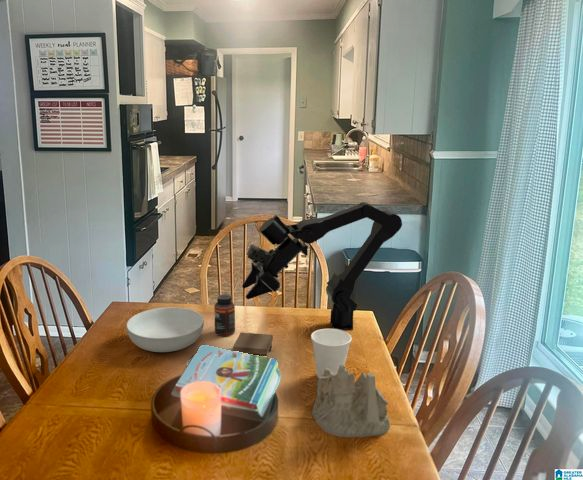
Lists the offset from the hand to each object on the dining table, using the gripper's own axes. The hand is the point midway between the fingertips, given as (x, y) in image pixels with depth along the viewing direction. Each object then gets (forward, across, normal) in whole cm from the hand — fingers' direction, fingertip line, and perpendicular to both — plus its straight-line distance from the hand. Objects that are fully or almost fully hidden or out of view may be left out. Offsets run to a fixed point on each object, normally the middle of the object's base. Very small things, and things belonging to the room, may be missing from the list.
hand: (244, 292), depth 151 cm
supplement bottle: (+13, 0, +5) cm, 14 cm away
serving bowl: (+25, +5, -7) cm, 26 cm away
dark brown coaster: (+8, +15, +9) cm, 19 cm away
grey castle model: (-4, +47, +21) cm, 52 cm away
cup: (-4, +30, +21) cm, 37 cm away
